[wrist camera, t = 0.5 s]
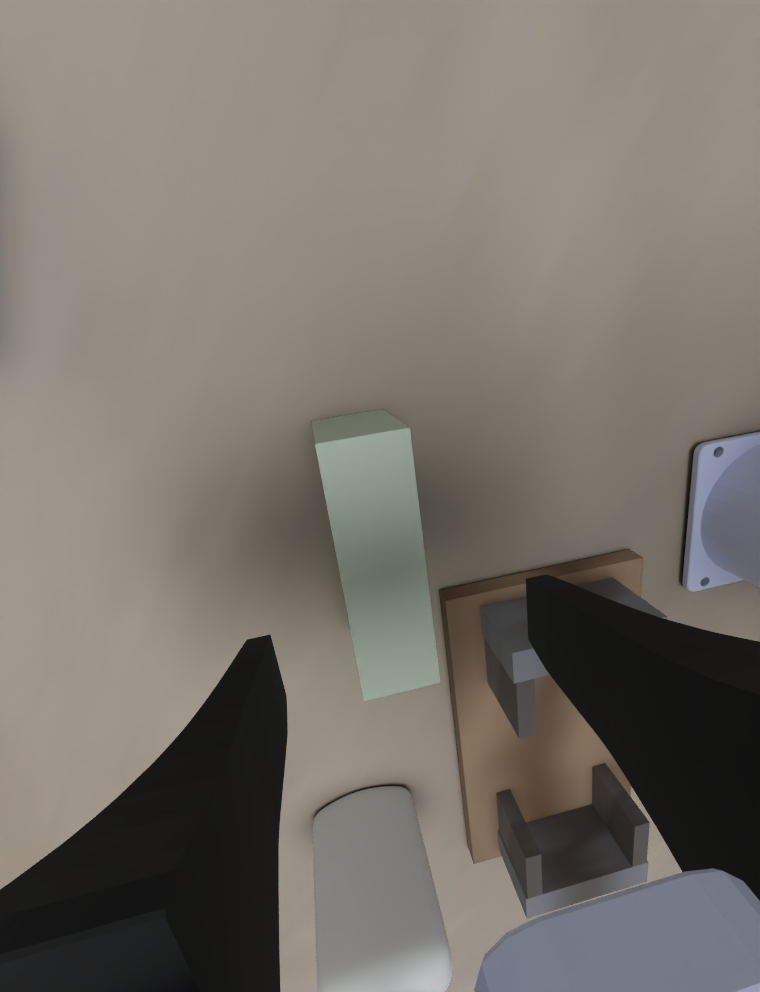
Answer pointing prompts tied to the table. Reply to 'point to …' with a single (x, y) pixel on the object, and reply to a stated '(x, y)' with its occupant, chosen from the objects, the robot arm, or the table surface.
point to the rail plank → (379, 548)
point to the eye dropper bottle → (376, 898)
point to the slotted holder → (539, 745)
